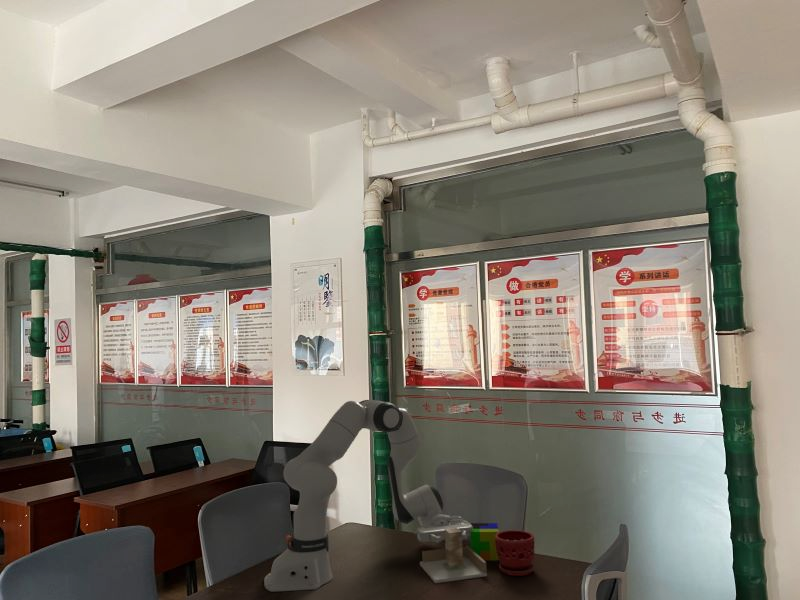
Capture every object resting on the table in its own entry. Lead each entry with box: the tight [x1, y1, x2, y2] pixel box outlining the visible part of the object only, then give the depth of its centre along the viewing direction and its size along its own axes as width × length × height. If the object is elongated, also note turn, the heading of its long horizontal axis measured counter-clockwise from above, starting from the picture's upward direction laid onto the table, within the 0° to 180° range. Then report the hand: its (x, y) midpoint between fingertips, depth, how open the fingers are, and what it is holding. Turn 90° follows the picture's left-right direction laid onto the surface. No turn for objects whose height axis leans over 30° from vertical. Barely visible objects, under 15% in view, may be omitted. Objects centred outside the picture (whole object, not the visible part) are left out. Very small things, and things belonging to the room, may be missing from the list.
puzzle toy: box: [469, 522, 500, 561], centre depth 223 cm, size 10×10×10 cm
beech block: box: [444, 528, 463, 569], centre depth 210 cm, size 4×4×12 cm
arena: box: [419, 545, 488, 584], centre depth 209 cm, size 18×17×4 cm
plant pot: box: [495, 529, 535, 577], centre depth 207 cm, size 13×13×12 cm
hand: (452, 538), depth 212 cm, fingers open, 8 cm apart
